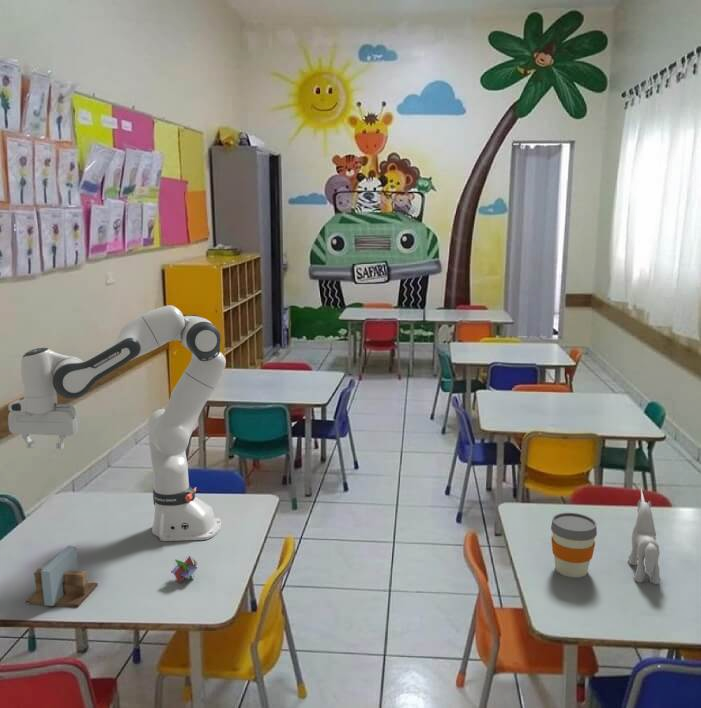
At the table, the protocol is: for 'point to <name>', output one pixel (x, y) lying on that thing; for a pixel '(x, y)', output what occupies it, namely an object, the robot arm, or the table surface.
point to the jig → (65, 589)
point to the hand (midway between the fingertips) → (45, 448)
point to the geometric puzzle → (184, 569)
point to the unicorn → (645, 544)
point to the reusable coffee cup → (573, 543)
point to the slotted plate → (58, 574)
